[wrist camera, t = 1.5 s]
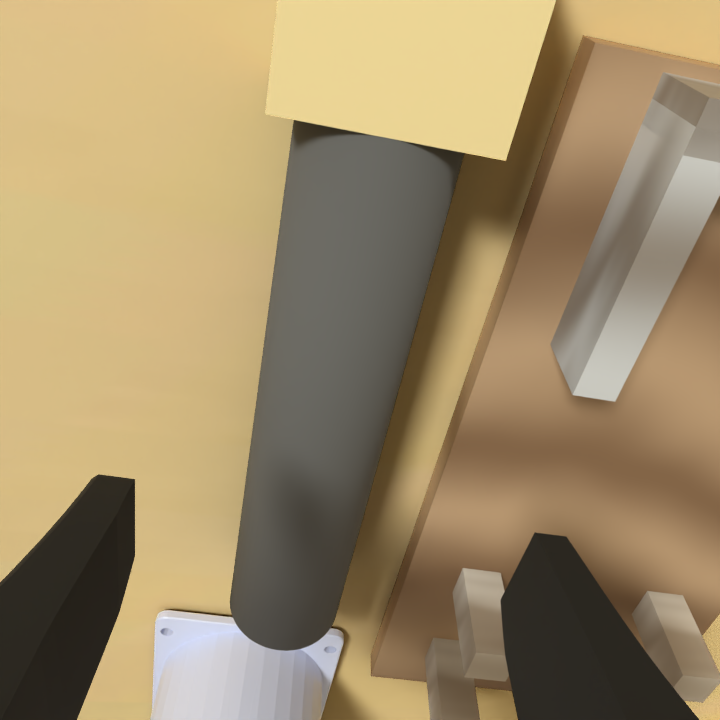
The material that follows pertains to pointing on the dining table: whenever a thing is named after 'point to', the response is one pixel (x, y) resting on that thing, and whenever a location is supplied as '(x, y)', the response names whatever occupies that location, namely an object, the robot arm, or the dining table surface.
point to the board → (587, 392)
